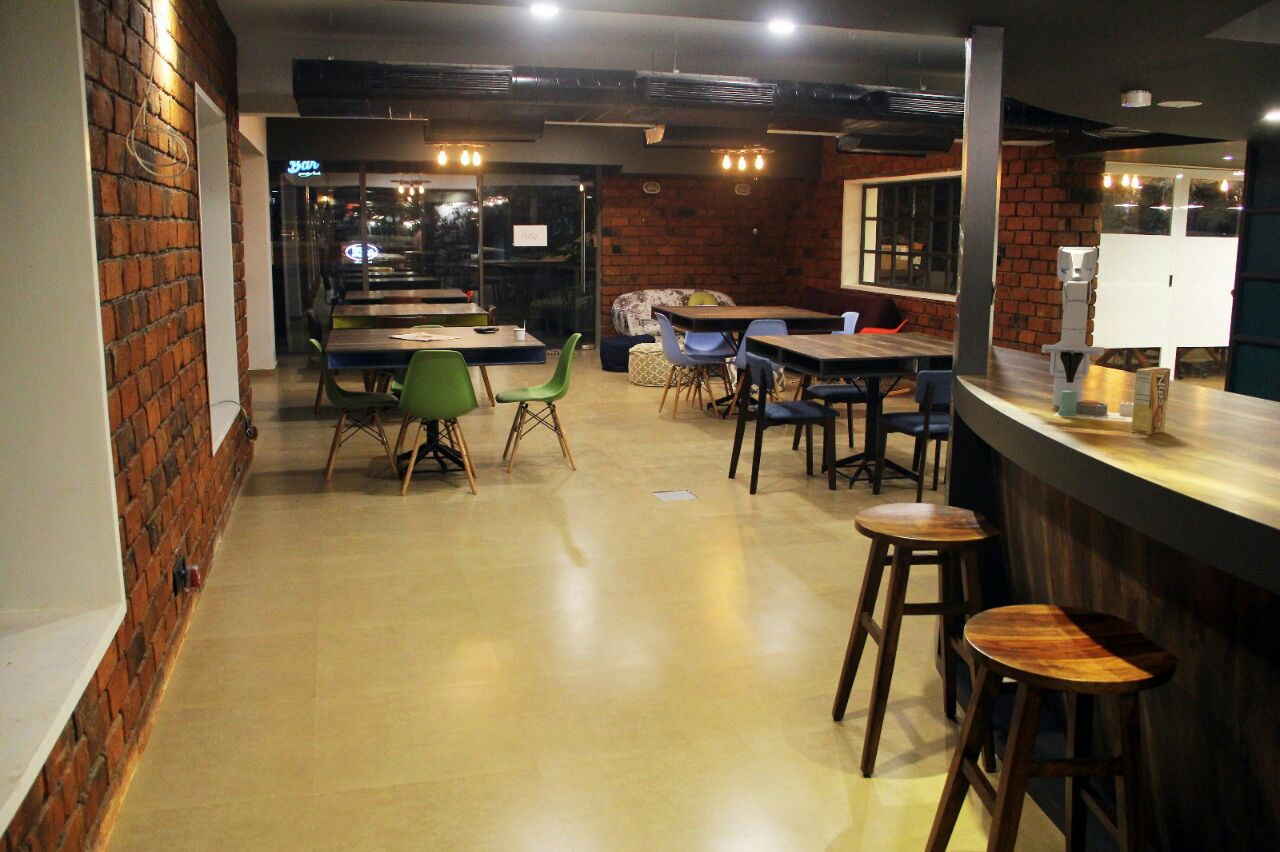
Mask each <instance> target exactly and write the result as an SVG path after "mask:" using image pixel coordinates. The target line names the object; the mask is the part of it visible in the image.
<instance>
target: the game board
mask: <svg viewBox="0 0 1280 852" xmlns="http://www.w3.org/2000/svg"><path fill="white" fill-rule="evenodd" d="M1081 404H1083V401H1081V402H1077V404H1076V413H1077V415H1076V416H1062V415H1058V412H1059V410H1058V411H1056V412H1055V413H1054V414H1053V415H1052V417H1063V418H1064V417H1065V418H1075V419H1087V420H1102V421H1115V422H1126V423H1132V418H1133V407H1134V402H1127V401H1126V402H1125V401H1121V402H1120V404H1119V412H1111V411H1110V412H1109V411H1108V406H1109V405H1108V403H1103V402H1099V401H1098V405H1100V406H1092V405H1081Z"/></svg>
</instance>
